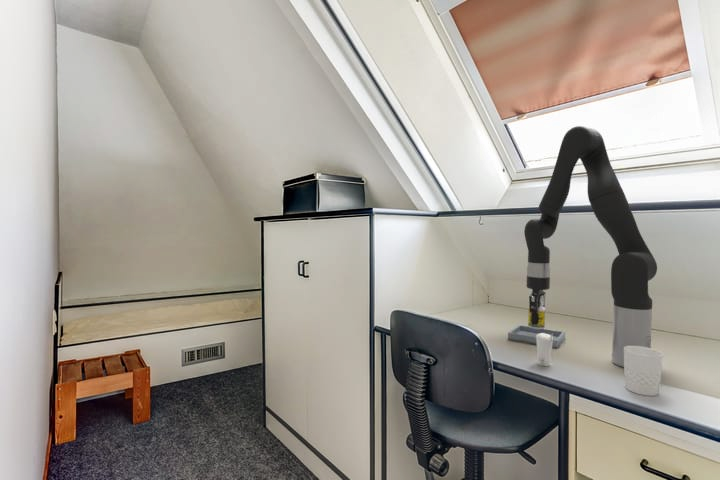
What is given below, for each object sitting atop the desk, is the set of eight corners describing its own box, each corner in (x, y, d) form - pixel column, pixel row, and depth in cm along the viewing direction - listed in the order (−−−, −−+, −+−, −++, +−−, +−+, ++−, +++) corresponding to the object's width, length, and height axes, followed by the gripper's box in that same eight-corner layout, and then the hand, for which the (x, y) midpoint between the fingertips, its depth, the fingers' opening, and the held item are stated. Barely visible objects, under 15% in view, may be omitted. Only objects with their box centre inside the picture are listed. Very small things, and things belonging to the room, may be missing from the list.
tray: (565, 338, 140) (565, 332, 140) (557, 348, 128) (557, 341, 128) (518, 331, 149) (518, 324, 149) (507, 339, 138) (508, 332, 138)
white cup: (666, 399, 91) (668, 357, 91) (627, 394, 94) (628, 353, 94) (655, 386, 98) (656, 347, 98) (618, 381, 101) (620, 344, 101)
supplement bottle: (527, 328, 138) (528, 300, 137) (528, 324, 142) (529, 298, 142) (544, 330, 135) (545, 302, 135) (545, 326, 140) (545, 299, 140)
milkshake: (544, 369, 110) (545, 334, 110) (531, 362, 115) (532, 329, 115) (558, 367, 111) (559, 333, 111) (544, 361, 117) (545, 328, 116)
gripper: (545, 278, 130) (543, 328, 131) (553, 274, 141) (552, 320, 142) (521, 276, 134) (520, 324, 135) (532, 272, 146) (530, 316, 147)
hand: (536, 322), depth 139 cm, fingers closed on supplement bottle, 5 cm apart
